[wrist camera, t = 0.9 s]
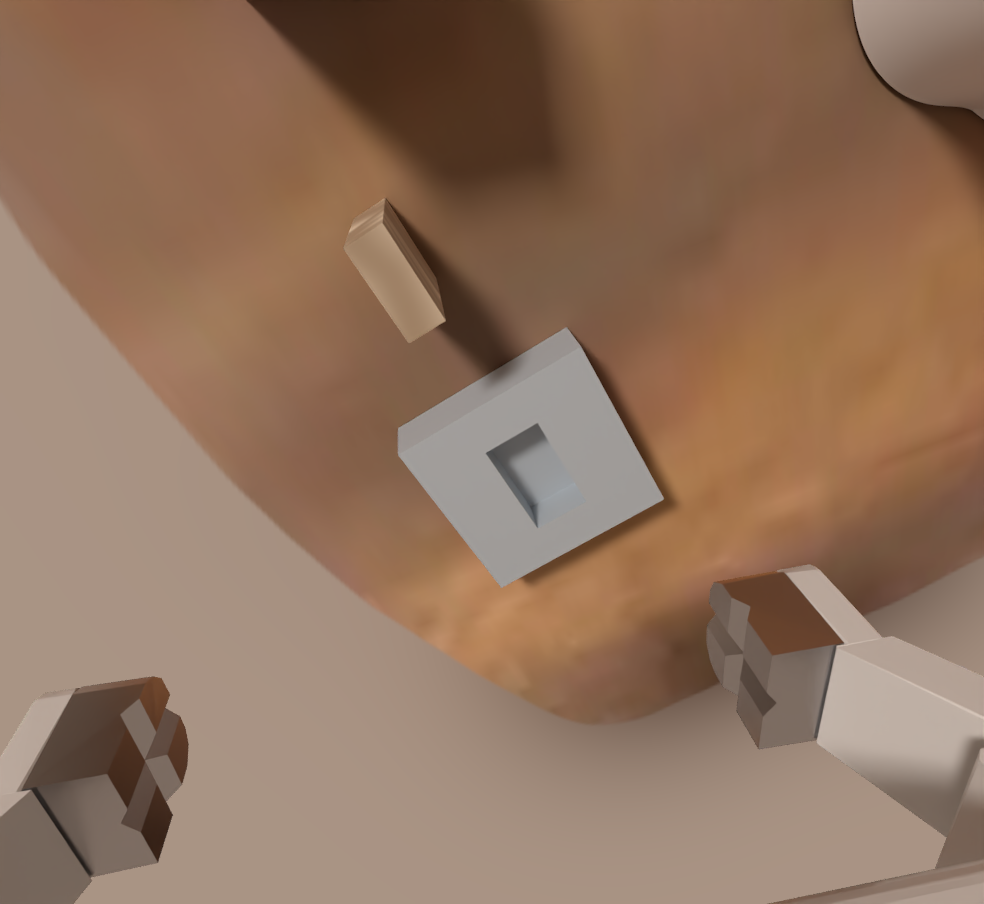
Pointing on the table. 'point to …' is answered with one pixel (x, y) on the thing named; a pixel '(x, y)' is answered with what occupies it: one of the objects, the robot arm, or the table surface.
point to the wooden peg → (395, 270)
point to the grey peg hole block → (529, 460)
